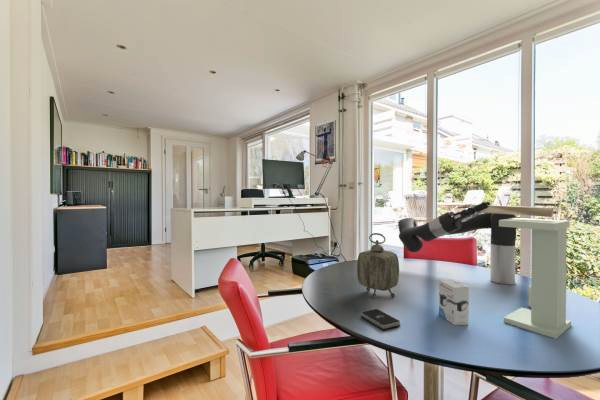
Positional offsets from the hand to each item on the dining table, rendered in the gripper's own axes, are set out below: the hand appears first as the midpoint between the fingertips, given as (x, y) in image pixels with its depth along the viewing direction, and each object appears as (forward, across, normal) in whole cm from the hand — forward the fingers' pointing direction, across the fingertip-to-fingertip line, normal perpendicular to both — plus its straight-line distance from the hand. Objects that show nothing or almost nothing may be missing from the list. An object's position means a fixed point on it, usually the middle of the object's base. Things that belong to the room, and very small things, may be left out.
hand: (488, 204), depth 98 cm
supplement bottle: (-8, -13, -38) cm, 41 cm away
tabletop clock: (-46, +21, -16) cm, 53 cm away
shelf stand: (-7, +3, -38) cm, 39 cm away
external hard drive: (-33, +39, -23) cm, 56 cm away
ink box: (-21, +20, -30) cm, 41 cm away
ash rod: (+4, 0, -6) cm, 7 cm away
